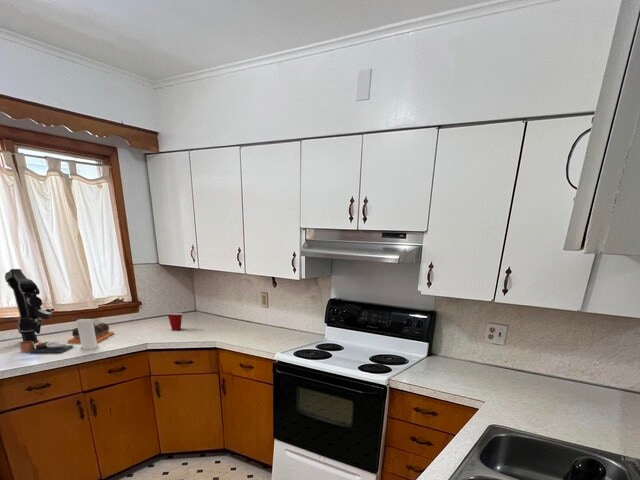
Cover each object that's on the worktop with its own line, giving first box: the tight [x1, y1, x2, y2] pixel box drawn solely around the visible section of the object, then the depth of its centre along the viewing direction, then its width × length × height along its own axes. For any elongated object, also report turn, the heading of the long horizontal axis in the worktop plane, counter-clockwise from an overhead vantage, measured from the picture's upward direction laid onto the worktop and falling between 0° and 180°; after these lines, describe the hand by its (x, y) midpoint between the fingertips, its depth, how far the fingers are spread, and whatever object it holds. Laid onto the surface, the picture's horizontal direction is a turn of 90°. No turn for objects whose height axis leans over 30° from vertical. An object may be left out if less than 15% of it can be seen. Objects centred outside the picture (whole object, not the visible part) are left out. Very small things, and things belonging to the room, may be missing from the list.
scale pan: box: [43, 341, 66, 347], centre depth 241 cm, size 14×11×1 cm
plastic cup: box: [166, 311, 184, 332], centre depth 300 cm, size 11×11×12 cm
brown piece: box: [67, 322, 115, 344], centre depth 270 cm, size 28×17×8 cm, turn 5°
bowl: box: [18, 340, 36, 353], centre depth 238 cm, size 7×7×5 cm
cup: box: [76, 318, 98, 350], centre depth 247 cm, size 8×8×16 cm
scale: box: [29, 344, 74, 355], centre depth 241 cm, size 16×14×3 cm
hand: (38, 333), depth 237 cm, fingers closed
